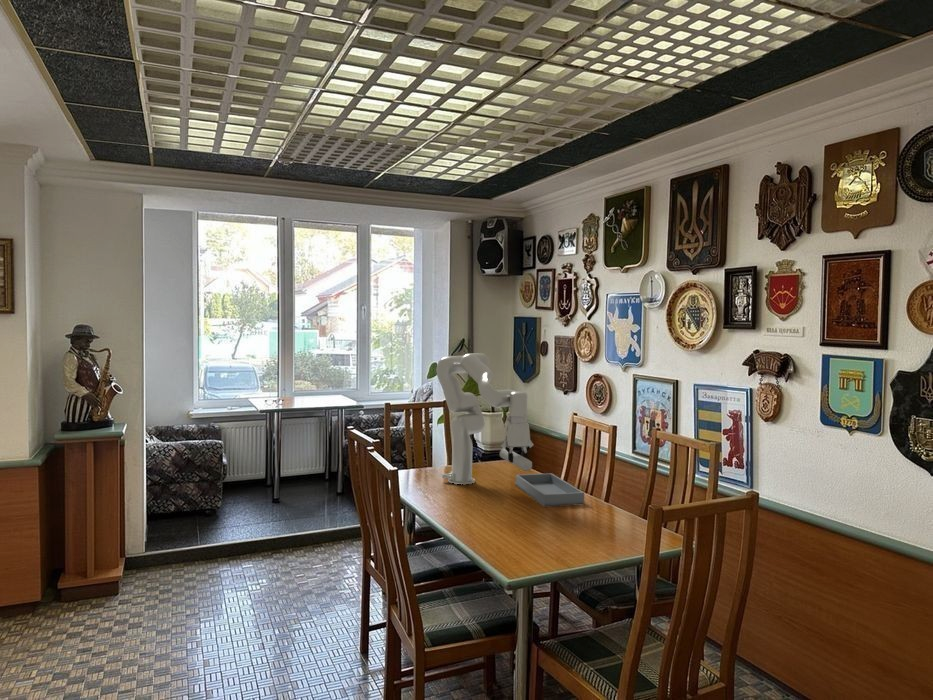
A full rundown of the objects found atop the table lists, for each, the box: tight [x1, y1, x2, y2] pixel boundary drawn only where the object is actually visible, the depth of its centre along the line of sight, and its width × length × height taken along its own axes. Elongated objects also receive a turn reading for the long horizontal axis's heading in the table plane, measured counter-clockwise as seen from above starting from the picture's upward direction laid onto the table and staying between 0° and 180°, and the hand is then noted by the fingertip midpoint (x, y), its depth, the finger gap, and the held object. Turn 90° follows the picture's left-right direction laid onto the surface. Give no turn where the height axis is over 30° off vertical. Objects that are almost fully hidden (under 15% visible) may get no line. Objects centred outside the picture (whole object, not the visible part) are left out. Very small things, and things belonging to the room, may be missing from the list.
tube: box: [499, 447, 533, 472], centre depth 270 cm, size 5×5×25 cm
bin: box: [515, 472, 585, 508], centre depth 275 cm, size 18×34×5 cm, turn 16°
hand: (516, 461), depth 270 cm, fingers closed on tube, 4 cm apart
